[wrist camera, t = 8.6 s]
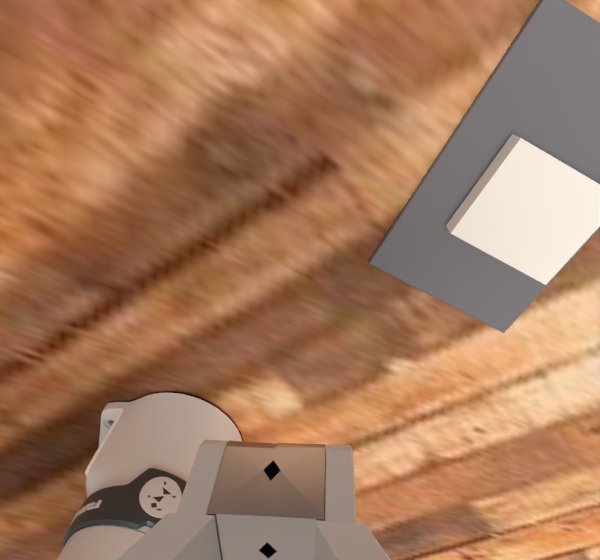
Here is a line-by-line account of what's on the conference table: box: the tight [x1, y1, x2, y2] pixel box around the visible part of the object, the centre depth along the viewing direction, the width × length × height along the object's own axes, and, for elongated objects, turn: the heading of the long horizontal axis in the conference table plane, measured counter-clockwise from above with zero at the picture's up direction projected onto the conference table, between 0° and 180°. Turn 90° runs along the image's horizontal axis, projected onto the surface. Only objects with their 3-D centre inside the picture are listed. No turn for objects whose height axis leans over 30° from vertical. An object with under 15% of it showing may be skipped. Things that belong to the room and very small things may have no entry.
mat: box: [369, 0, 600, 333], centre depth 34 cm, size 22×14×1 cm, turn 153°
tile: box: [446, 134, 600, 285], centre depth 33 cm, size 8×2×9 cm
